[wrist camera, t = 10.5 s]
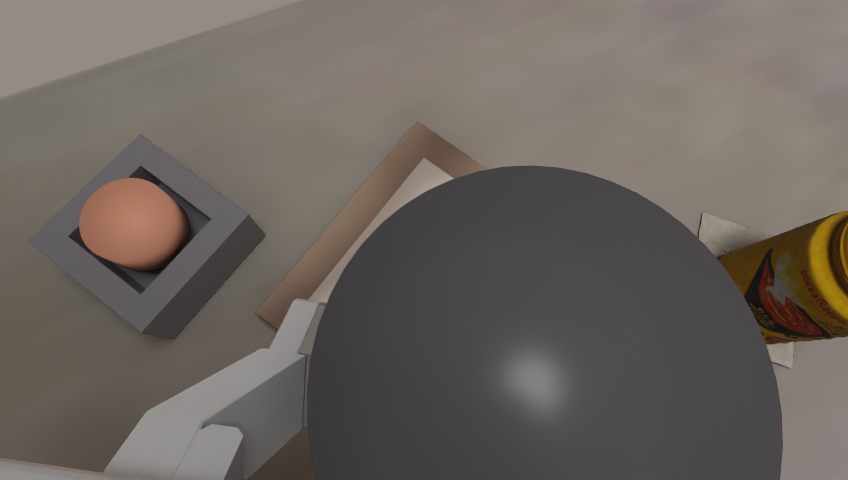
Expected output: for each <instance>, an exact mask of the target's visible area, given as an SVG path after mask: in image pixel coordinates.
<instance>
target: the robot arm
mask: <svg viewBox="0 0 848 480" xmlns="http://www.w3.org/2000/svg"><path fill="white" fill-rule="evenodd" d="M325 306H326V303H324V302H321V303H320V302H318V301H312V300H306V299H300V298H296V299H295V300H294V301H293V302H292V304H291V306H290V308H289V310H288V312H287V314H286V316H285V318H284V320H283V322H282V324H281V326H280V328H279V329H278V331H277V333H276V335H275V337H274V339H273V341H272V343H271V345H270V347H269V349H264V348H261V349H259V350H257V351H255V352H253V353H251V354H250V355H248V356H246V357H244V358H242V359H241V360H239V361H237V362H235V363H233V364H232V365H230V366H228V367H226V368H224V369H222V370H221V371H219V372H217V373H215V374H213V375H212V376H210V377H208V378H206V379H204V380H203V381H201V382H199V383H197V384H195V385H193V386H192V387H190V388H188V389H186V390H184V391H183V392H181V393H179V394H177V395H175V396H173V397H172V398H170V399H168V400H166V401H164V402H163V403H161V404H159V405H157V406H155V407H154V408H152V409H150V410H148V411H146V413H145V414H144V416H143V417H142V418H141V420H140V421H139V423H138V424H137V425H136V427H135V428H134V429H133V431H132V432H131V434H130V435H129V436H128V438H127V439H126V441H125V442H124V443H123V445H122V446H121V447H120V449H119V450H118V452H117V453H116V454H115V456H114V457H113V459H112V460H111V461H110V463H109V464H108V465H107V467H106V468H105V470H104V471H103V472H96V471H89V470H82V469H75V468H69V467H62V466H55V465H49V464H42V463H35V462H28V461H22V460H15V459H8V458H1V457H0V480H247V479H248V478H249V477H250V476H251V475H252V474H254V473H255V472H256V471H257V470H258V469H259V468H260V467H261V466H262V465H263V464H264V463H266V462H267V461H268V460H269V459H270V458H271V457H272V456H273V455H274V454H275V453H276V452H277V451H279V450H280V449H281V448H282V447H283V446H284V445H285V444H286V443H287V442H288V441H289V440H291V439H292V438H293V437H294V436H295V435H296V434H297V433H298V432H299V431H300V430H301V429H302V427H308V426H307V383H308V375H309V366H310V357H311V353H312V349H313V344H314V340H315V336H316V332H317V328H318V324H319V322H320V319H321V316H322V314H323V311H324V309H325Z"/></svg>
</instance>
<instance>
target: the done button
mask: <svg viewBox="0 0 848 480" xmlns="http://www.w3.org/2000/svg"><path fill="white" fill-rule="evenodd" d="M79 230H80V234H81V237H82V240H83V241H84V243H85V245H86V246H87V247H88V248H89V249H90V250H91V251H92V252H94V253H95V254H96V255H99V256H101V257H103V258H105V259H107V260H110V261H112V262H114V263H117V264H119V265H121V266H124V267H126V268H128V269H131V270H135V271H153V270H157V269H160V268H163V267H165V266H167V265H168V264H170V263H171V262H172V261H173V260H174V259H175V257H176V256H177V255H178V254H179V253H180V252H181V251H182V250H183V249H184V248H185V247H186V245H187V243H188V240H189V237H190V221H189V218H188V216H187V214H186V212H185V210H184V209H183V208H182V207H181V206H180V205H179V204H178V203H177V202H175V201H174V200H173V199H172V198H171V197H170V196H168V195H167V194H166V193H165V192H164V191H162V190H161V189H160V188H159V187H158V186H156V185H155V184H153V183H151V182H149V181H147V180H144V179H139V178H124V179H119V180H115V181H112V182H110V183H108V184H106V185H104V186H102V187H101V188H99V189H98V190H97V191H96V192H94V193H93V194H92V195H91V196H90V198H89V199H88V200H87V202H86V203H85V205H84V207H83V209H82V212H81V215H80V220H79Z"/></svg>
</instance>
